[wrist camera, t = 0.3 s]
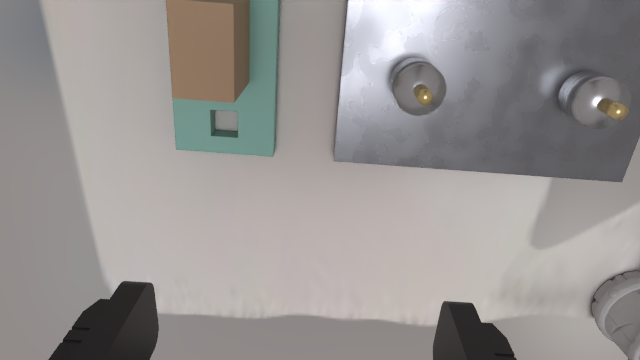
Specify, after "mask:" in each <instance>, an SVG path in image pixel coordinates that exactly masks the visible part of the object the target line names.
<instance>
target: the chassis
mask: <svg viewBox="0 0 640 360" xmlns="http://www.w3.org/2000/svg"><path fill="white" fill-rule="evenodd" d="M639 137H640V0H347V11H346V22H345V33H344V44H343V56H342V67H341V78H340V89H339V100H338V111H337V123H336V134H335V145H334V161H339V162H353V163H367V164H380V165H394V166H408V167H421V168H435V169H448V170H462V171H476V172H489V173H503V174H517V175H530V176H544V177H558V178H571V179H585V180H599V181H612V182H622V181H623V178H624V175H625V173H626V170H627V168H628V165H629V162H630V160H631V157H632V155H633V152H634V150H635V147H636V144H637V142H638V139H639Z"/></svg>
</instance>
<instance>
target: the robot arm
mask: <svg viewBox="0 0 640 360" xmlns="http://www.w3.org/2000/svg"><path fill="white" fill-rule="evenodd" d="M158 330H159V326H158V317H157V309H156V301H155V292H154V287H153V284H152V283H147V282H131V281H123V282H122V283H120V285H119V286H118V288H117V289H116V291H115V292H114V294H113V295H112V297H111V298H110V300H109V299H108V300H107V299H100V300H98V301H97V302H95V303H94V304H93V305H91V306H90V307H89V308H87V309H86V310H85V311H83V312H82V314H81V315H80V317H79V318H78V319H77V321H76V322H75V324H74V325H73V326H72V330H69V332H68V333H67V335H66V336H65V337H64V339H63V342H62V343H60V344H59V346H58V347H57V349H56V350H55V351H54V353H53V354H52V355H51V357H50V358H49V360H150V357H151V355H152V353H153V351H154V349H155V346H156V343H157V338H158ZM433 360H517V359H516V358H514V353H513V351H512V349H511V347H510V344H509V342H508V340H507V338H506V337H505V336H504V335H503V334H502V333H501V332H500V331H499V330H498V329H497V328H496V327H495V326H494V325H493V324H492V323H481V321H480V318H479V316H478V314H477V311H476V309H475V307H474V305H473V304H472V303H465V302H449V301H444V302H443V304H442V307H441V311H440V316H439V320H438V325H437V330H436V334H435V339H434V344H433Z"/></svg>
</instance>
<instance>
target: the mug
mask: <svg viewBox="0 0 640 360" xmlns="http://www.w3.org/2000/svg"><path fill="white" fill-rule="evenodd" d="M594 298H595V299H596V300H595V301H594V302H593V303H592V313H593V315H594V317H595V321H596V324H597V326H598V328H599V329H600V331H601V332H602V333H603V334H604V335H605V336H606V337H607V338H608V339H610V340H611V341H613V342H615V343H616V345H617V346H618V347H619V348H620V349H621V350H622V351H623V352H624V354H625V355H626V356H627V357H628V360H640V271H632V272H626V273H623V276H622V275H621V274H620V275H618V276H615V278H614V280H608V281H607V282H605V283H604V284H603V285H602V286H601V287H600V288H599V289H598V290H597V292H596V293H595V295H594Z"/></svg>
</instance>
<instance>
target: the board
mask: <svg viewBox="0 0 640 360" xmlns="http://www.w3.org/2000/svg"><path fill="white" fill-rule="evenodd" d="M166 8H167V23H168V38H169V53H170V68H171V83H172V98H173V111H174V126H175V141H176V150H190V151H203V152H217V153H231V154H244V155H258V156H271V157H273V156H274V153H275V143H276V111H277V79H278V47H279V15H280V0H166ZM215 110H222V111H235V112H238V132H234V131H221V130H215Z"/></svg>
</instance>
